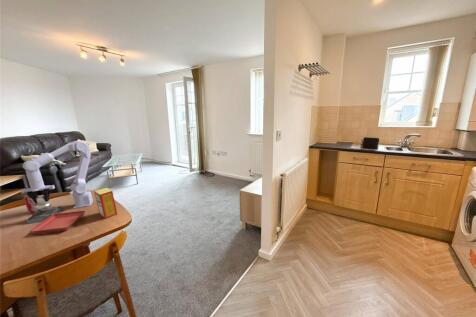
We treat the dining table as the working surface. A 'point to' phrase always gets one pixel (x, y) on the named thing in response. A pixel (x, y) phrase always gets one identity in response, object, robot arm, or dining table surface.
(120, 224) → the dining table surface
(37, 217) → the bore housing
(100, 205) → the baking soda box
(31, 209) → the beverage can
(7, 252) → the dining table surface
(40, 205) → the end cover
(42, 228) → the plant saucer
